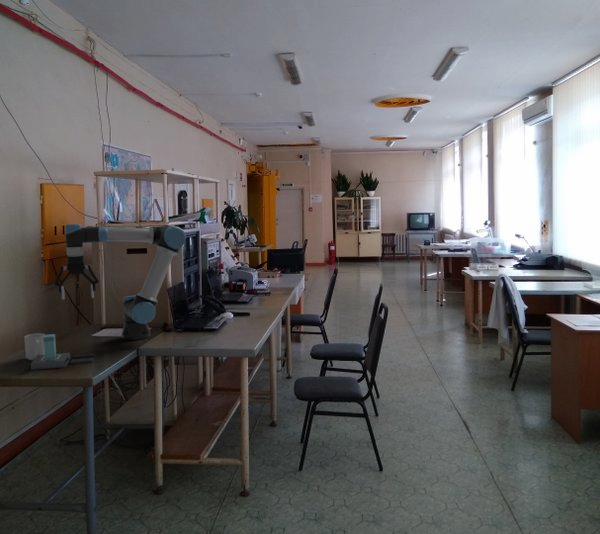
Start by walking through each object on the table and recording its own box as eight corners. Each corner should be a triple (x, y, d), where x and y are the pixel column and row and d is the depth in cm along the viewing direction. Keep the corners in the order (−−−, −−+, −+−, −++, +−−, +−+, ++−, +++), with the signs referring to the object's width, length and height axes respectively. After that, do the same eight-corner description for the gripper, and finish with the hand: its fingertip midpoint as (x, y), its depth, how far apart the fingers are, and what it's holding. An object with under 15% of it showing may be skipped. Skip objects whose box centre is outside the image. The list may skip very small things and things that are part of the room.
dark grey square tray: (95, 357, 261) (94, 354, 261) (92, 363, 252) (92, 359, 251) (72, 359, 259) (72, 355, 259) (69, 365, 249) (68, 361, 249)
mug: (24, 357, 264) (22, 335, 263) (44, 354, 269) (42, 332, 268) (29, 363, 254) (27, 339, 253) (49, 359, 260) (48, 336, 258)
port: (70, 359, 259) (69, 352, 258) (65, 368, 245) (64, 360, 245) (38, 362, 255) (37, 354, 255) (31, 371, 242) (30, 363, 242)
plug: (57, 363, 253) (55, 334, 251) (55, 366, 249) (53, 336, 247) (47, 364, 252) (45, 334, 250) (45, 367, 248) (43, 336, 246)
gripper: (103, 253, 275) (105, 295, 277) (49, 255, 269) (52, 298, 271) (101, 255, 267) (104, 298, 270) (46, 257, 262) (49, 301, 264)
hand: (78, 298), depth 271 cm, fingers open, 13 cm apart
